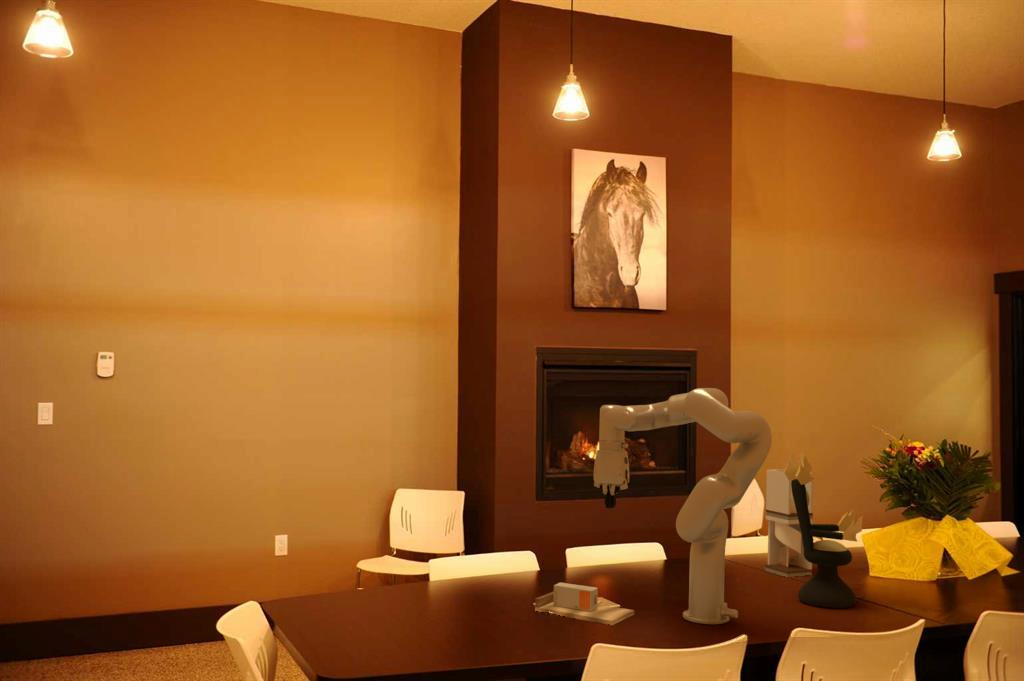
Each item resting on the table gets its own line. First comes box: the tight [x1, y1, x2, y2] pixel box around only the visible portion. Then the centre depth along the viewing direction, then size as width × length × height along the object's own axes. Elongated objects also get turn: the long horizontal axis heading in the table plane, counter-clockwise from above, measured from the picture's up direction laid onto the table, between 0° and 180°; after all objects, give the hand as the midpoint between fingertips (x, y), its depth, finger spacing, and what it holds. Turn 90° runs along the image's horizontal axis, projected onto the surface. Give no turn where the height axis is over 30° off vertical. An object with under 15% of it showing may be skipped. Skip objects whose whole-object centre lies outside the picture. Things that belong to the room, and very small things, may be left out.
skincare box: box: [553, 582, 599, 612], centre depth 271 cm, size 6×4×12 cm
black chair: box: [784, 451, 864, 609], centre depth 291 cm, size 19×22×45 cm
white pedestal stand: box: [764, 468, 814, 578], centre depth 332 cm, size 11×11×35 cm
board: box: [534, 591, 635, 626], centre depth 270 cm, size 24×14×4 cm, turn 58°
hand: (610, 507), depth 288 cm, fingers closed
